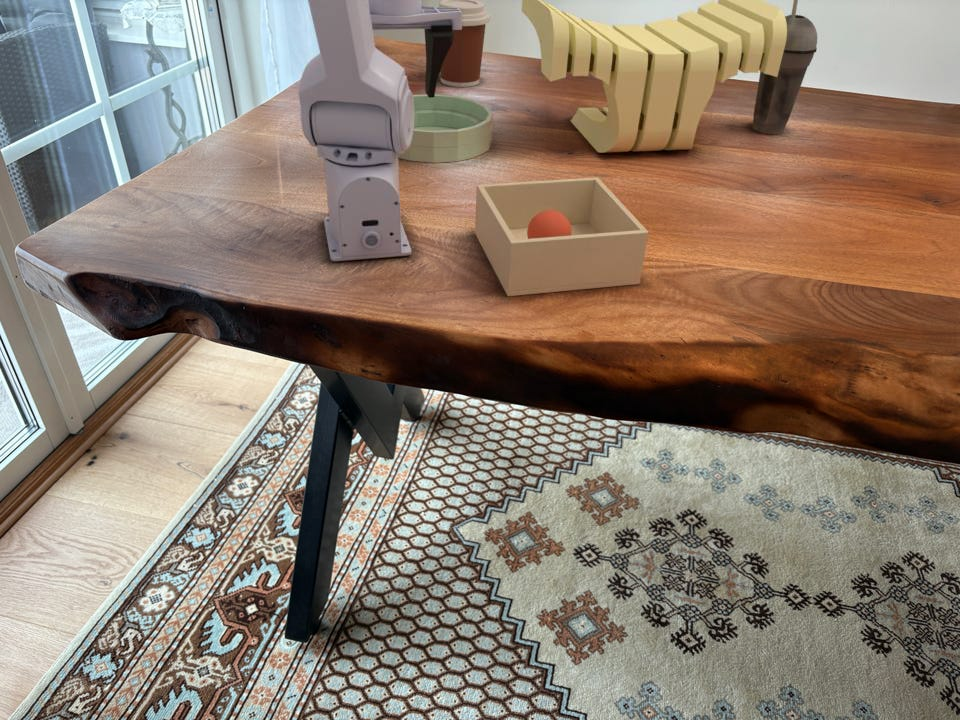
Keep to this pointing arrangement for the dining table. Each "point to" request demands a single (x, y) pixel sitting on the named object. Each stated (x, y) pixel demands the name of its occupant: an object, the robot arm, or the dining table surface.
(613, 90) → the slatted curved stool
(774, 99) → the beverage cup
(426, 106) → the bowl
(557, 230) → the toy ball
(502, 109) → the dining table surface
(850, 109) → the dining table surface
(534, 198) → the bin
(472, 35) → the coffee cup
